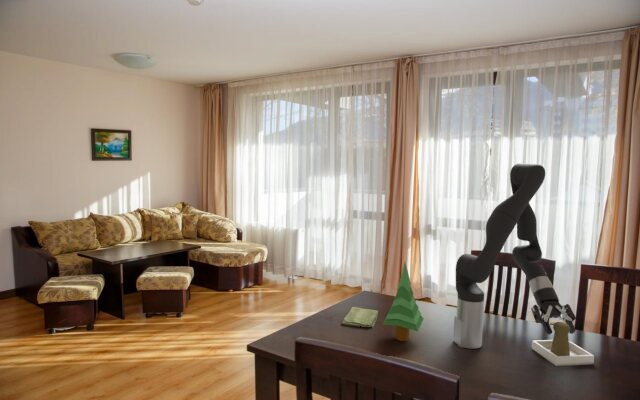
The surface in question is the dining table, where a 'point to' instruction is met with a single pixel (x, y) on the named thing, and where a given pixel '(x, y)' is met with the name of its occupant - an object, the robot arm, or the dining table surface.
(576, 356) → the tray
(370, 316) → the washcloth
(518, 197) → the robot arm
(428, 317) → the dining table surface
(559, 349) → the cork
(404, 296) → the decorative tree
